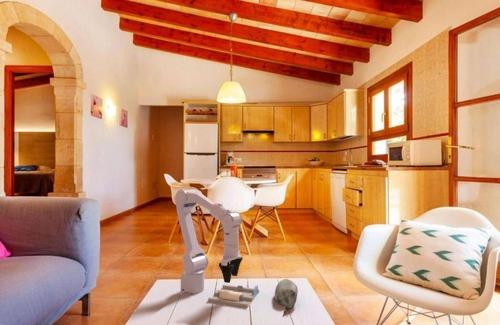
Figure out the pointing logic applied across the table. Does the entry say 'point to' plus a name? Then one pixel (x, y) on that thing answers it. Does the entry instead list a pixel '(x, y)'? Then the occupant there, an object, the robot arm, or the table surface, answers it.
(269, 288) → the table surface
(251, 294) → the beige mounting plate
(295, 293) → the mottled grey stone
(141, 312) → the table surface
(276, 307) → the table surface
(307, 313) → the table surface
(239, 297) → the cream cylinder
